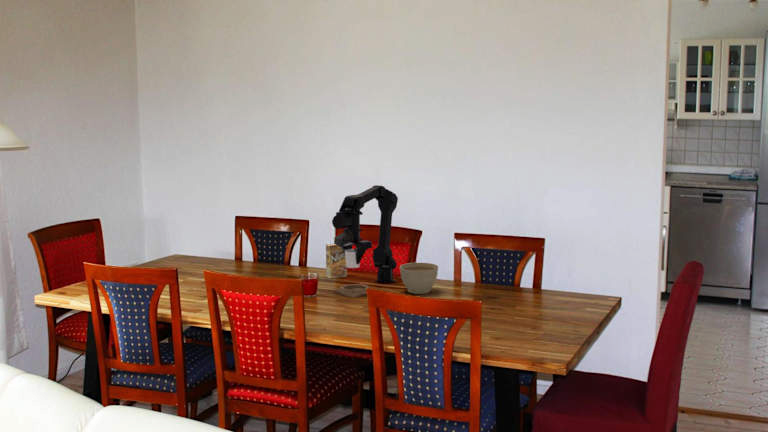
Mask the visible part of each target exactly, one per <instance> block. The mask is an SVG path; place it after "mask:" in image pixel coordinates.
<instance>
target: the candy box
mask: <svg viewBox="0 0 768 432" xmlns="http://www.w3.org/2000/svg"><path fill="white" fill-rule="evenodd" d="M325 268H326V269H325V270H326V271H325V272H326V273H325V274H326V278H327V277H328V278H327V279H337V278H346V277H348V267H346V259H345V255H344V252H343V250H342V249H341V248H340V247H339V246H338V245H336V244H334V243H329V244H325Z"/></svg>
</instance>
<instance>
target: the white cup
mask: <svg viewBox="0 0 768 432" xmlns="http://www.w3.org/2000/svg"><path fill="white" fill-rule="evenodd" d="M354 249H355V248H352V249H347V250H345V259H346V267H347V269H357V268H360V266H361V265H360V264H361V262H360V263H359V264H357V263H356V252H355V251H354Z"/></svg>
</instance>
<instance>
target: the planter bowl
mask: <svg viewBox="0 0 768 432" xmlns="http://www.w3.org/2000/svg"><path fill="white" fill-rule="evenodd" d="M399 271H400V277H401V280H402V283H403V285H404V286H405V288H406V289H407V292H408V293H410V294H414V295H422V294H429V293H430V292H431V290H432V288H433V286H434V285H435V283H436V280H437V277H438V273H439V266H438V265H437V264H434V263H430V262H409V263H404V264H401V265H400V266H399Z"/></svg>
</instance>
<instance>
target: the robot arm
mask: <svg viewBox="0 0 768 432" xmlns="http://www.w3.org/2000/svg"><path fill="white" fill-rule="evenodd" d="M374 199H375V200H376V201H377V206H378V209H379V210H380V220H379V221H380V222H379V233H378V243H377V246H376V247H375V248H373V243H372V241H371V240H365V239H364V240H363V238H361V237H360V235H361V233H360V232H362V231H363V229H362V228H361V227H360V226H361V222H360V221H361V220H360V219H361V218H360V216H361V215H363V212H362V211H361V210H362V209H363V208H364V206H365V204H367V203H369V202H370V201H372V200H374ZM398 201H399V197H398V196H397V194H396V193H394V192H393V191H391V190H389V189H387V188H386V187H385V186H383V185H377V184H376V185H373V186H371V187H370V188H368V189H366V190H364V191H362V192H360V193H358V194H350V195H347V196H345V197H344V199H343V201H342V204H341V206H340V207H339V210H338V211H337V212H335V216H333V218H332V220H331V221H332V222H331V224H332V226H333V228H335V229H337V230H340V229H343V232H342V233H340V234H338V235H336V236H335V237H333V239H334V240H333V244H336V245H338V246H339V247H340V248H341V249H342V250H343V252H344V255H345V250H347V249H354V251H355V252H356V263H357V264H359V263H360V264H361V261H362V259H363V257H364V255H365V253H366V251H367V250H369V249H373V250H372V257H371V258H372V261H373V264H374V268H377V273H376V274H377V277H376V278H377V279H375V282H377V283H378V282H379V283H381V284H382V283H383V284H387V283H393V282H396V279H394V270H395V269H396V268H397V265H398V263H397V261H396V260H395V259H394V256H393V251H392V248H391V246H390V243H391V234H392V233H391V232H392V221H393V213H394V211H395V210H396V209H397V205H398ZM353 246H355V247H354V248H353Z"/></svg>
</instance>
